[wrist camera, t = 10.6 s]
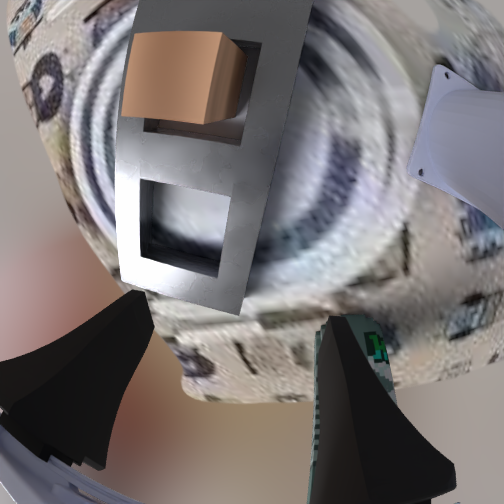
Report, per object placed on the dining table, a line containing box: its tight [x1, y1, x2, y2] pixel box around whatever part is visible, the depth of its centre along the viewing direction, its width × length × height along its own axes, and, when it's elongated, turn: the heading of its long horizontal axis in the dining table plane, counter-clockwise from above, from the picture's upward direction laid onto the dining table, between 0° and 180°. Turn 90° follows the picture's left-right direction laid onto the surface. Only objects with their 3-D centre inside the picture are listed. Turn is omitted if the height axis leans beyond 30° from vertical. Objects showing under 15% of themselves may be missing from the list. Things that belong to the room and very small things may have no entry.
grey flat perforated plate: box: [115, 0, 314, 316], centre depth 13 cm, size 10×30×2 cm, turn 169°
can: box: [307, 315, 397, 504], centre depth 16 cm, size 6×6×15 cm
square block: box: [121, 31, 248, 124], centre depth 11 cm, size 4×4×6 cm
